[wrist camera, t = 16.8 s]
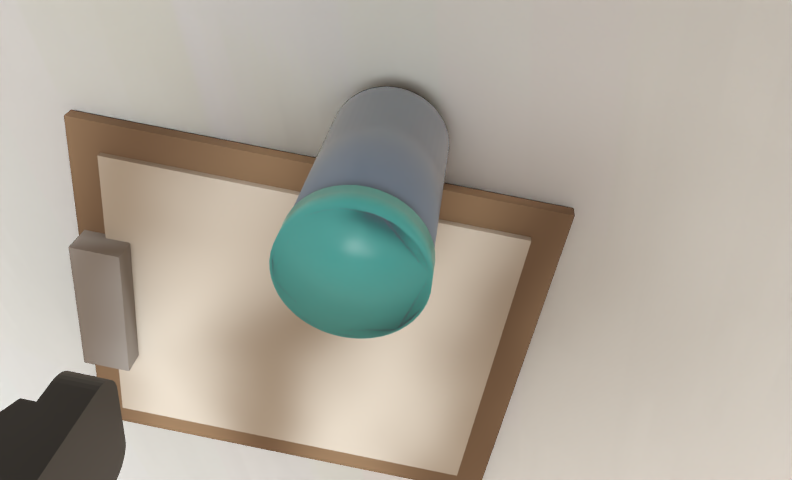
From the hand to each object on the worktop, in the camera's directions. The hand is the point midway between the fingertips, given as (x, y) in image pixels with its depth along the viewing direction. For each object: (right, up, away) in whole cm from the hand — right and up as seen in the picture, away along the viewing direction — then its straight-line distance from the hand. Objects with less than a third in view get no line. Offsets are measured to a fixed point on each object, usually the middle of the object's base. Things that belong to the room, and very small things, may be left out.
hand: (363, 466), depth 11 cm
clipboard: (-3, +1, +14) cm, 14 cm away
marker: (0, +7, +9) cm, 11 cm away
